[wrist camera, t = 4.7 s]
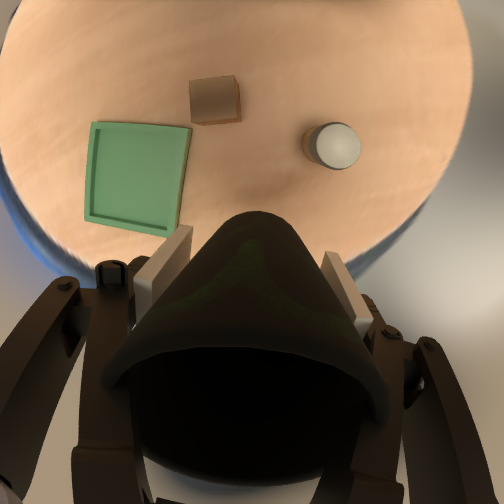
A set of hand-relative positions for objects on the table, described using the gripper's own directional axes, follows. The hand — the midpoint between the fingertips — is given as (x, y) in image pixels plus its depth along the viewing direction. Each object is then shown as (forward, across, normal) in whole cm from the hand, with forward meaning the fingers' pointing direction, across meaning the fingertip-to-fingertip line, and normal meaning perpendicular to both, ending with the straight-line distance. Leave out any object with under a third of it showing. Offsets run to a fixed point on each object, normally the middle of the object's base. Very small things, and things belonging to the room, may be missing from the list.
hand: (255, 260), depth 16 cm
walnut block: (+15, -6, +10) cm, 19 cm away
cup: (+1, 0, 0) cm, 1 cm away
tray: (+15, -15, +1) cm, 21 cm away
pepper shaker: (+15, +5, +8) cm, 18 cm away
